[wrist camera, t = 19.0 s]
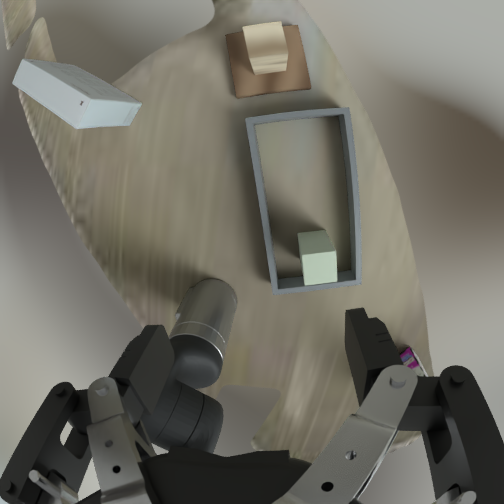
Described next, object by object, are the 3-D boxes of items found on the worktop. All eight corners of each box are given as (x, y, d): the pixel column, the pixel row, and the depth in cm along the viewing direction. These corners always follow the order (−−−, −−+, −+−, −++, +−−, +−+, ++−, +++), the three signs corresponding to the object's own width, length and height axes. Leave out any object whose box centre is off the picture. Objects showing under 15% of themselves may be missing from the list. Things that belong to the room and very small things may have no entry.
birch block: (249, 48, 37) (242, 25, 27) (280, 43, 36) (280, 20, 27) (254, 75, 39) (249, 58, 29) (285, 70, 38) (288, 52, 29)
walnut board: (237, 98, 42) (236, 97, 40) (226, 37, 37) (225, 34, 36) (310, 89, 40) (311, 87, 39) (297, 28, 36) (297, 24, 34)
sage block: (300, 259, 51) (304, 285, 42) (297, 233, 50) (301, 255, 40) (327, 255, 51) (337, 281, 41) (325, 229, 49) (336, 251, 40)
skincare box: (63, 87, 41) (10, 83, 27) (75, 65, 39) (23, 54, 25) (128, 129, 45) (75, 130, 30) (143, 104, 43) (93, 94, 28)
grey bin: (273, 284, 54) (272, 295, 50) (247, 120, 43) (244, 118, 39) (356, 274, 52) (361, 284, 48) (343, 110, 41) (349, 107, 37)
